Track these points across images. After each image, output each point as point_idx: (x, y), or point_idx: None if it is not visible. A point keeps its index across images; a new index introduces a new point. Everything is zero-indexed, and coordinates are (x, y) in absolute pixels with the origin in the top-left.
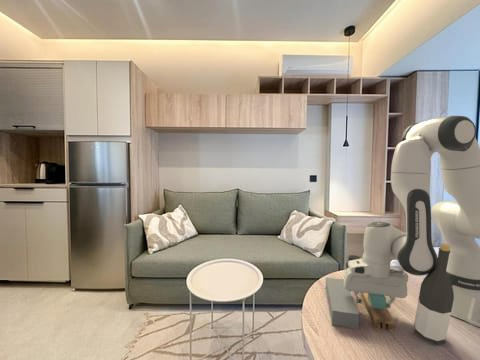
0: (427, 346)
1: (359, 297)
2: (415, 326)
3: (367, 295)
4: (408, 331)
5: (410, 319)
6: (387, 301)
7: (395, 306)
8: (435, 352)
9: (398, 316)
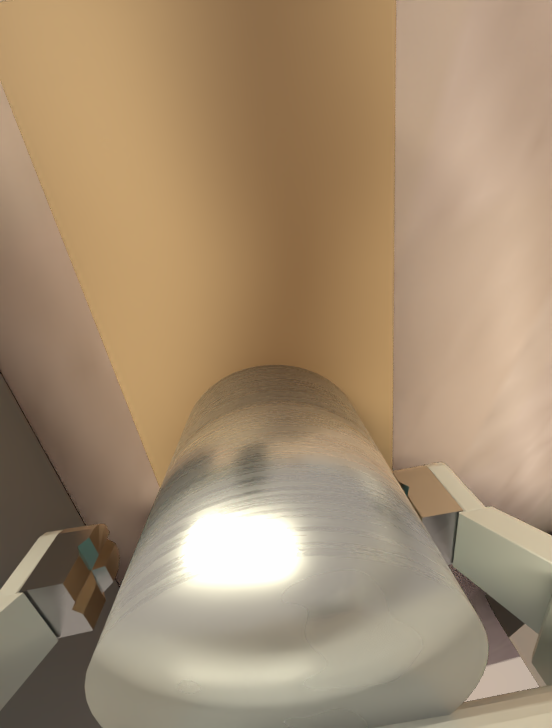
0: (492, 634)
1: (50, 603)
2: (524, 655)
3: (175, 370)
4: (453, 573)
5: (547, 446)
6: (453, 526)
7: (525, 259)
8: (506, 651)
9: (464, 442)
